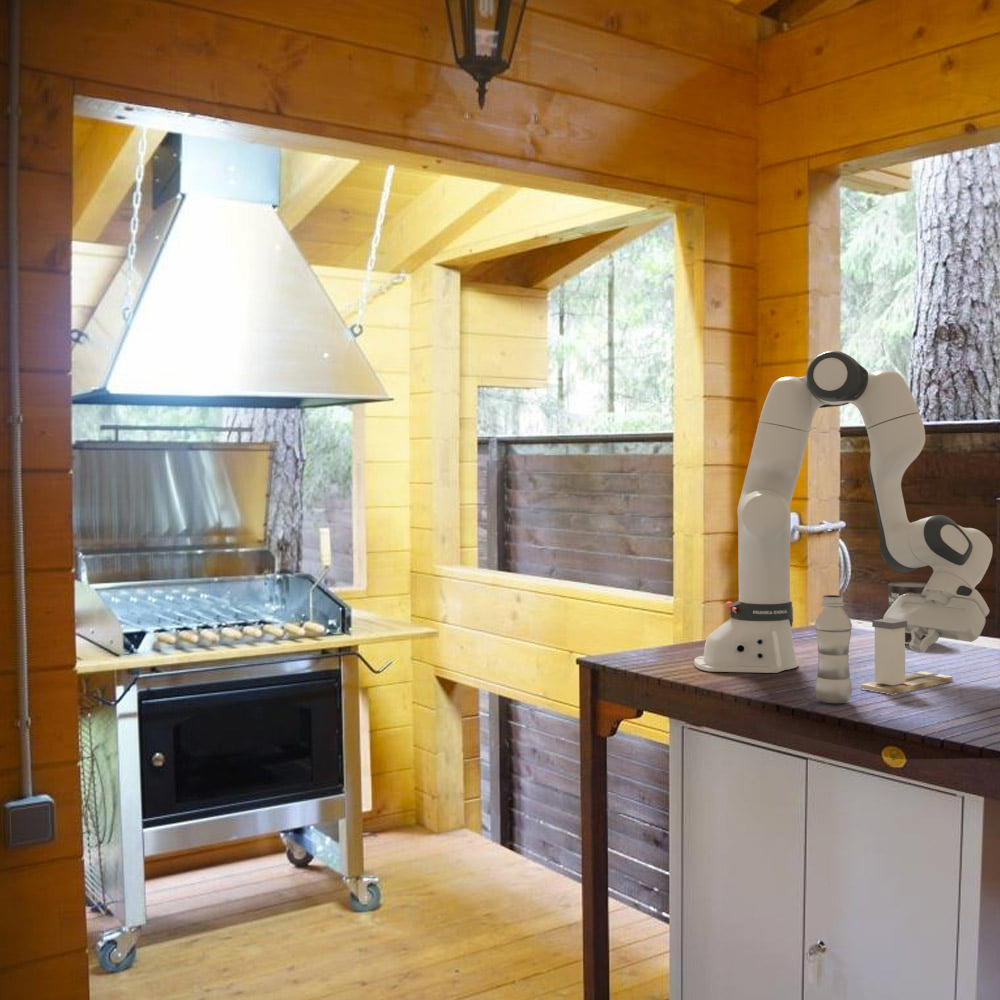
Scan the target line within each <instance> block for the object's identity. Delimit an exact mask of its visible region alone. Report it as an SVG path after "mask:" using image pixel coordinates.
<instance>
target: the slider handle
mask: <svg viewBox="0 0 1000 1000" xmlns="http://www.w3.org/2000/svg"><path fill="white" fill-rule="evenodd" d="M871 623H872V627H874V682H876V683H881V684H887V685H897V684H902V683H905V675H906V645H905V627H907V621H905V620H897V619H889V618H886V619H884V618H880V619H875V620H873V619H872V622H871Z"/></svg>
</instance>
